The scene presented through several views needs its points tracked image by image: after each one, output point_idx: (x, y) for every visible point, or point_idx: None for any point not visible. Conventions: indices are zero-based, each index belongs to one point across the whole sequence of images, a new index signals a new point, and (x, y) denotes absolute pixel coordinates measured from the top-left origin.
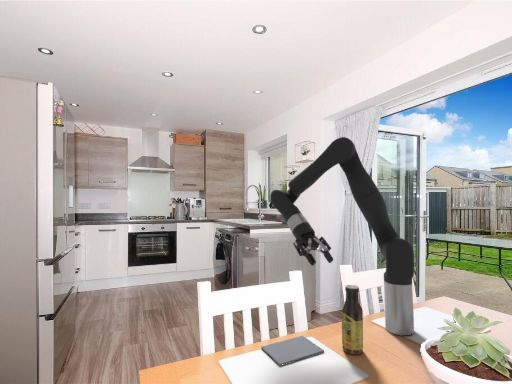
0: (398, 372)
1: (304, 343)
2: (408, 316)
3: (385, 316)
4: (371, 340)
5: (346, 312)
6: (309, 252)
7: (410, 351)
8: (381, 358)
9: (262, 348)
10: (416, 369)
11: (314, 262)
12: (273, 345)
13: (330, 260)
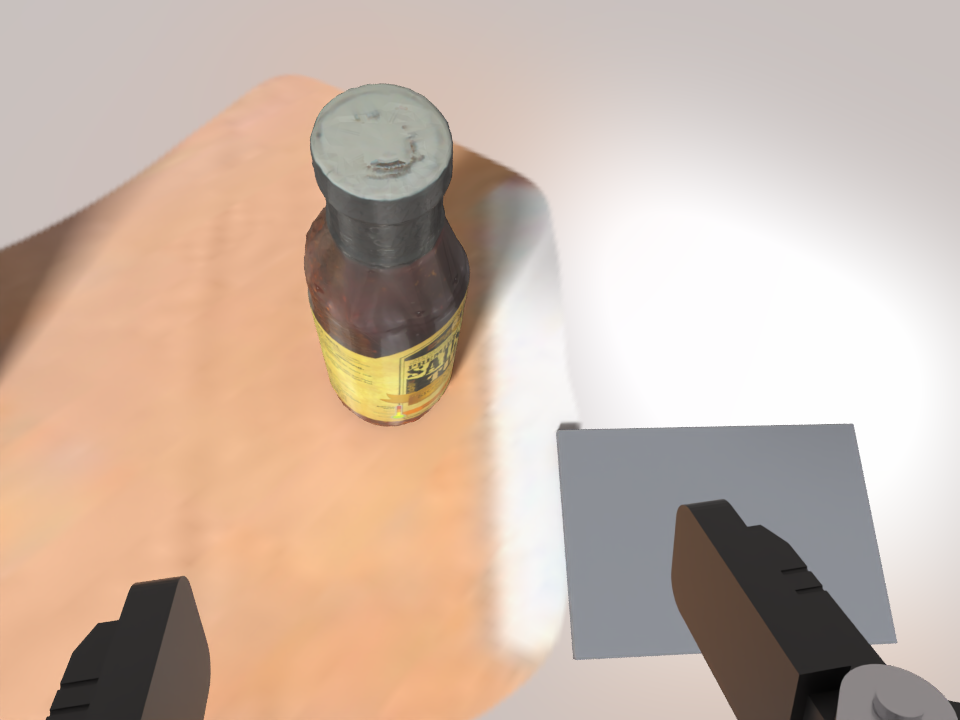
0: None
1: (622, 552)
2: None
3: None
4: (180, 410)
5: (463, 252)
6: (861, 682)
7: (104, 224)
8: None
9: (891, 627)
10: (251, 121)
11: (719, 504)
12: None
13: (192, 622)
